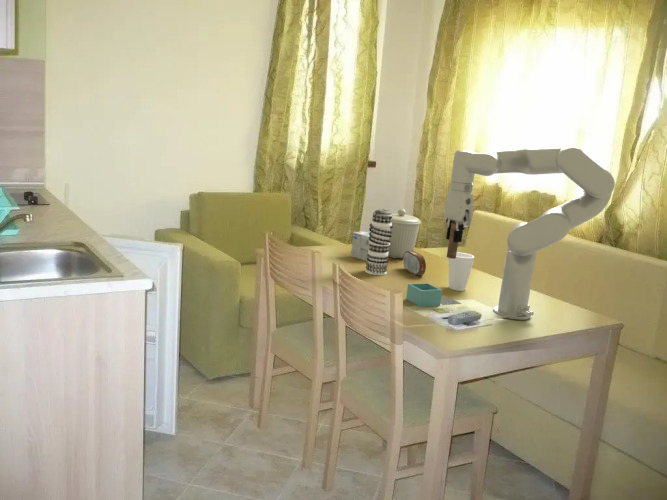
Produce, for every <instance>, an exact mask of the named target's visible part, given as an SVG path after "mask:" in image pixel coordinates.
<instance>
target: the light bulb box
mask: <svg viewBox="0 0 667 500" xmlns="http://www.w3.org/2000/svg"><path fill="white" fill-rule="evenodd" d="M369 233H370V232H367V231H353V233H352V244H351V254H350V257H353V258H355V257H356V259H358V258H359V260H361V261H366V262H368V260H367V258H368V256H367V254H368V250H369V245H370V243H369V241H370V240H369V237H370V236H369Z"/></svg>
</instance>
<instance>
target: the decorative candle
mask: <svg viewBox="0 0 667 500" xmlns="http://www.w3.org/2000/svg"><path fill="white" fill-rule="evenodd" d="M392 214H393V213H392V211H391V210H388V209H385V208H378V209H375V210H374V212H372V220H371V223H370V224H369V228H368V230H369V232H368V233H369V236H370V237H369V240H370V241H369V243H370V245H369V250H368V254H367V256H368V258H367V260H368V261H366V262H365V264H366V266H365V273H367V274H369V275H374V276H386V275H387V274H388V273H387V271H388V267H389V266H388V263H389V260H388V259H389V258H390V257H389V256H388V248H389V245H390V243H389V242H391V240H390V239H389V237H392V235H391V234H390V233H392V231H390V228H391V229H392V228H393V226H392V216H393V215H392Z"/></svg>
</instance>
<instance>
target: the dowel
mask: <svg viewBox="0 0 667 500" xmlns="http://www.w3.org/2000/svg"><path fill="white" fill-rule="evenodd" d="M460 225H461V223H460ZM460 225H459V226H460ZM454 230H456V222H453V221H452V223H451V229H450V236H449V240H448V245H447V251H446V258H452V259H455V258H456V254H457V252H458V246H459V242H453V237H454Z"/></svg>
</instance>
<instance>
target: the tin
mask: <svg viewBox="0 0 667 500" xmlns="http://www.w3.org/2000/svg"><path fill="white" fill-rule="evenodd" d="M402 259H403V261H402V264H403V267H404V269H405V270H406V271H408V272H409V273H410V274H413V275H415V276H417V277H418V276H423V275H424V274H425V273H426V269H427V263H426V259H425V257H424V256H423V255H422V254H420V253H418V252H417V251H415V250H414V251H413V250H411V251H406V252H405V253H404V258H402Z"/></svg>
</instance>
